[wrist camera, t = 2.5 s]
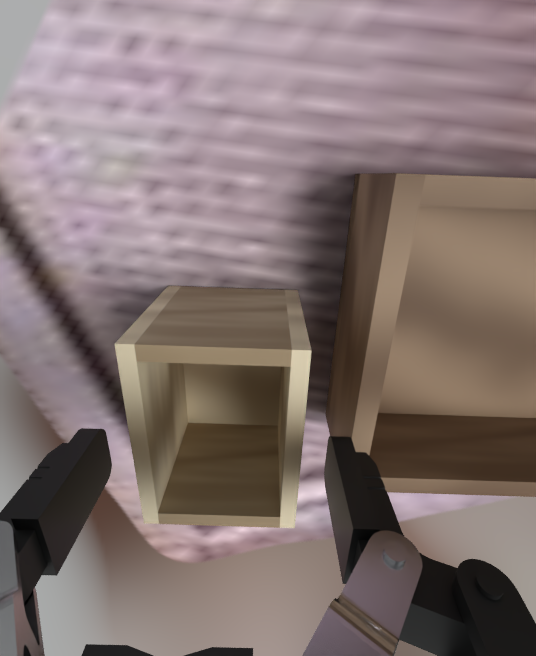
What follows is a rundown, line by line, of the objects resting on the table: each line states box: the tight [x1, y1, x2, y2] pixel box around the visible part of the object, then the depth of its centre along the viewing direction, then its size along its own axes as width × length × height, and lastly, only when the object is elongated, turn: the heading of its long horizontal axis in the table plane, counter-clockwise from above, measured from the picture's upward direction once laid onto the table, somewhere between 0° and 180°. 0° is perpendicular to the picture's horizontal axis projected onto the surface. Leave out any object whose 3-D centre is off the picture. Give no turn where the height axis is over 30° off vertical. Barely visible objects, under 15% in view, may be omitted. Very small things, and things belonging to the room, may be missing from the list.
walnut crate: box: [326, 173, 536, 497], centre depth 14 cm, size 12×14×5 cm
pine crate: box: [115, 286, 312, 528], centre depth 15 cm, size 8×6×6 cm
